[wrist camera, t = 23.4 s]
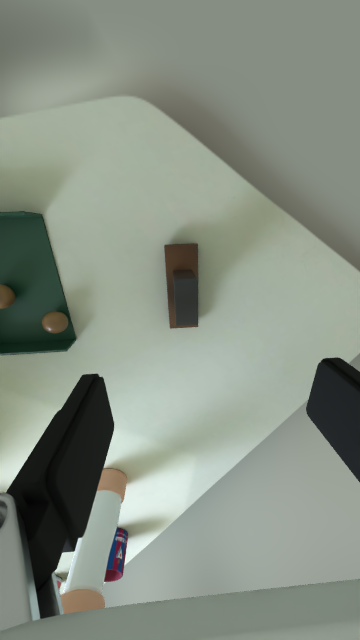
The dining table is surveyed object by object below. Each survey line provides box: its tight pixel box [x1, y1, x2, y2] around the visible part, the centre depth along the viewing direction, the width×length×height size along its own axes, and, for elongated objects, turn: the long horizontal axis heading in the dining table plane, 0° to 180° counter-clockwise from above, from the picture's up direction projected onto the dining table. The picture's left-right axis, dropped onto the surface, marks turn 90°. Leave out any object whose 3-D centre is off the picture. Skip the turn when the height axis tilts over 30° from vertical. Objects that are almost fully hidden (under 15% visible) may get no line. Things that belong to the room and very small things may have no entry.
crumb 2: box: [42, 311, 68, 333], centre depth 27 cm, size 3×3×3 cm
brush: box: [164, 243, 198, 328], centre depth 24 cm, size 11×4×7 cm, turn 2°
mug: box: [104, 528, 128, 582], centre depth 49 cm, size 7×10×7 cm
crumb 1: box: [0, 285, 16, 309], centre depth 25 cm, size 3×3×3 cm
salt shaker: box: [60, 469, 127, 614], centre depth 34 cm, size 7×7×19 cm
